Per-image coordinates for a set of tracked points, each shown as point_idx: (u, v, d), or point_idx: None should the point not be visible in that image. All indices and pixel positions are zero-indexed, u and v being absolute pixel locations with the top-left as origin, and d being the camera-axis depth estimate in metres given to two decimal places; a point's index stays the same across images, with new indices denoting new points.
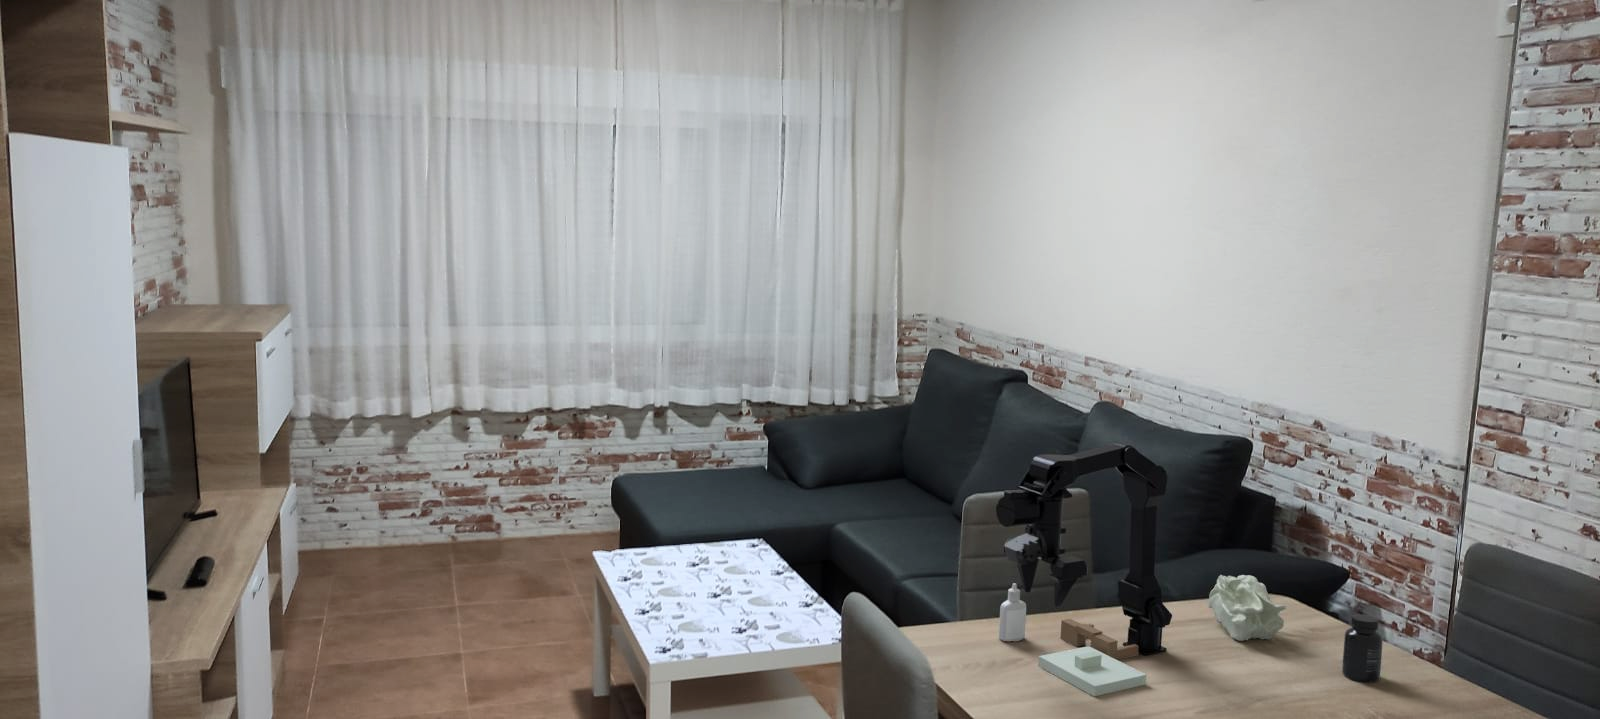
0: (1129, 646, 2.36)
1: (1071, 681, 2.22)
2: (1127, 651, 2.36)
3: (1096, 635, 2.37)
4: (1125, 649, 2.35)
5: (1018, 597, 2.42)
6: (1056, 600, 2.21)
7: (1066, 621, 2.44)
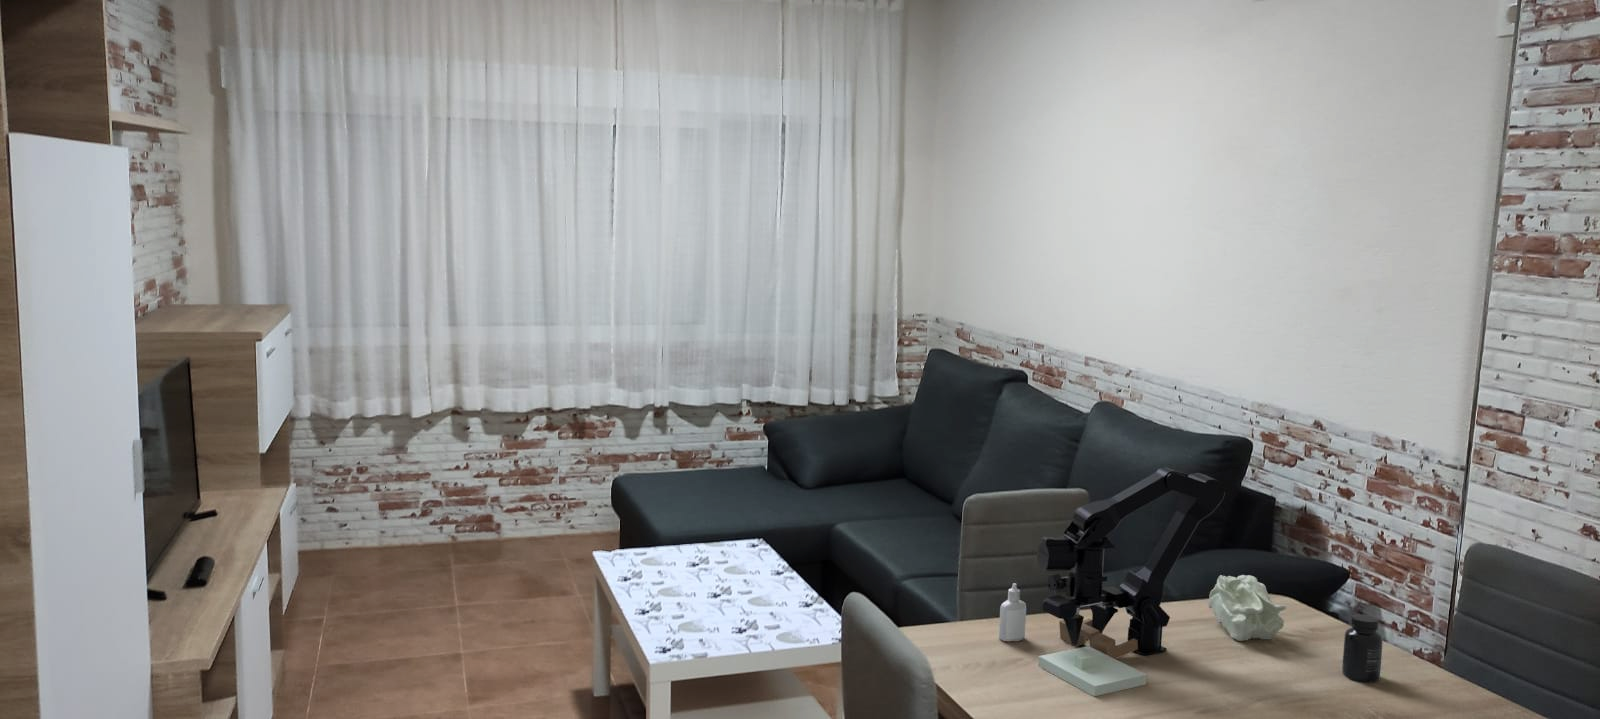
0: (1128, 642, 2.36)
1: (1071, 681, 2.22)
2: (1127, 648, 2.36)
3: (1094, 635, 2.36)
4: (1124, 646, 2.35)
5: (1018, 597, 2.42)
6: None
7: (1064, 622, 2.44)
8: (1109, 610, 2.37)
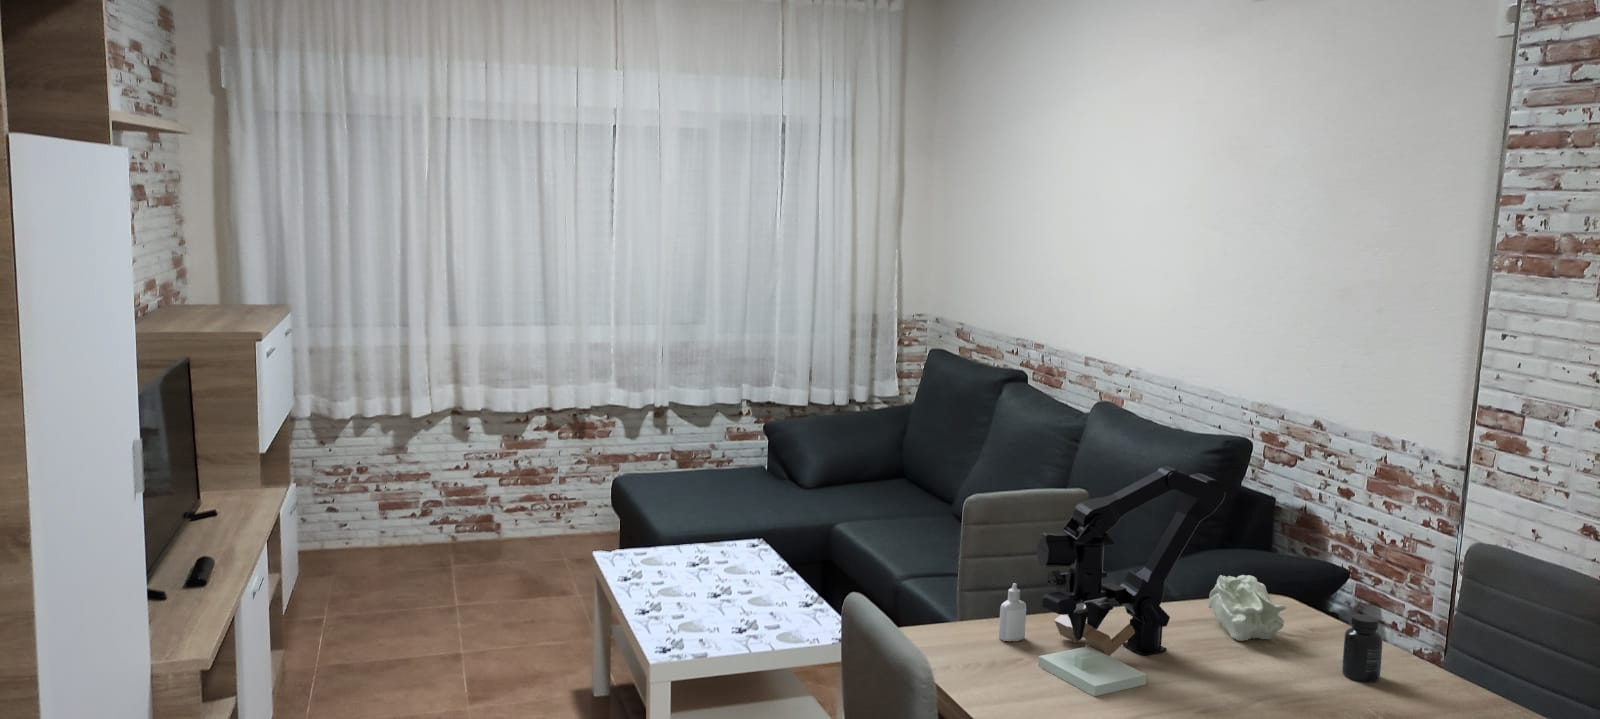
0: (1123, 630, 2.35)
1: (1071, 681, 2.22)
2: (1123, 637, 2.35)
3: (1088, 634, 2.36)
4: (1120, 637, 2.34)
5: (1018, 597, 2.42)
6: None
7: (1059, 620, 2.43)
8: (1104, 607, 2.36)
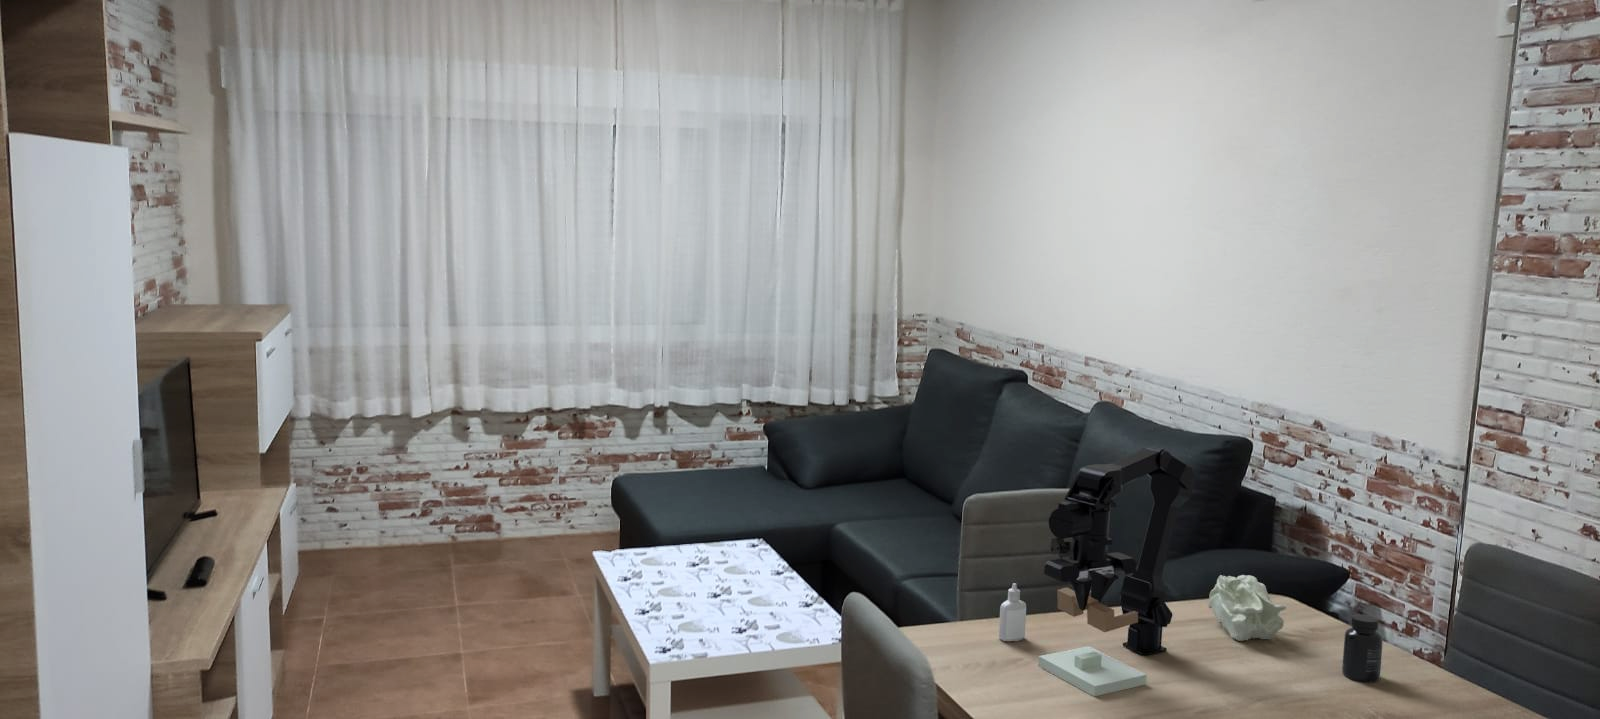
0: (1128, 614, 2.25)
1: (1071, 681, 2.22)
2: (1126, 620, 2.24)
3: (1092, 605, 2.25)
4: (1123, 617, 2.24)
5: (1018, 597, 2.42)
6: None
7: (1062, 591, 2.33)
8: (1109, 576, 2.26)
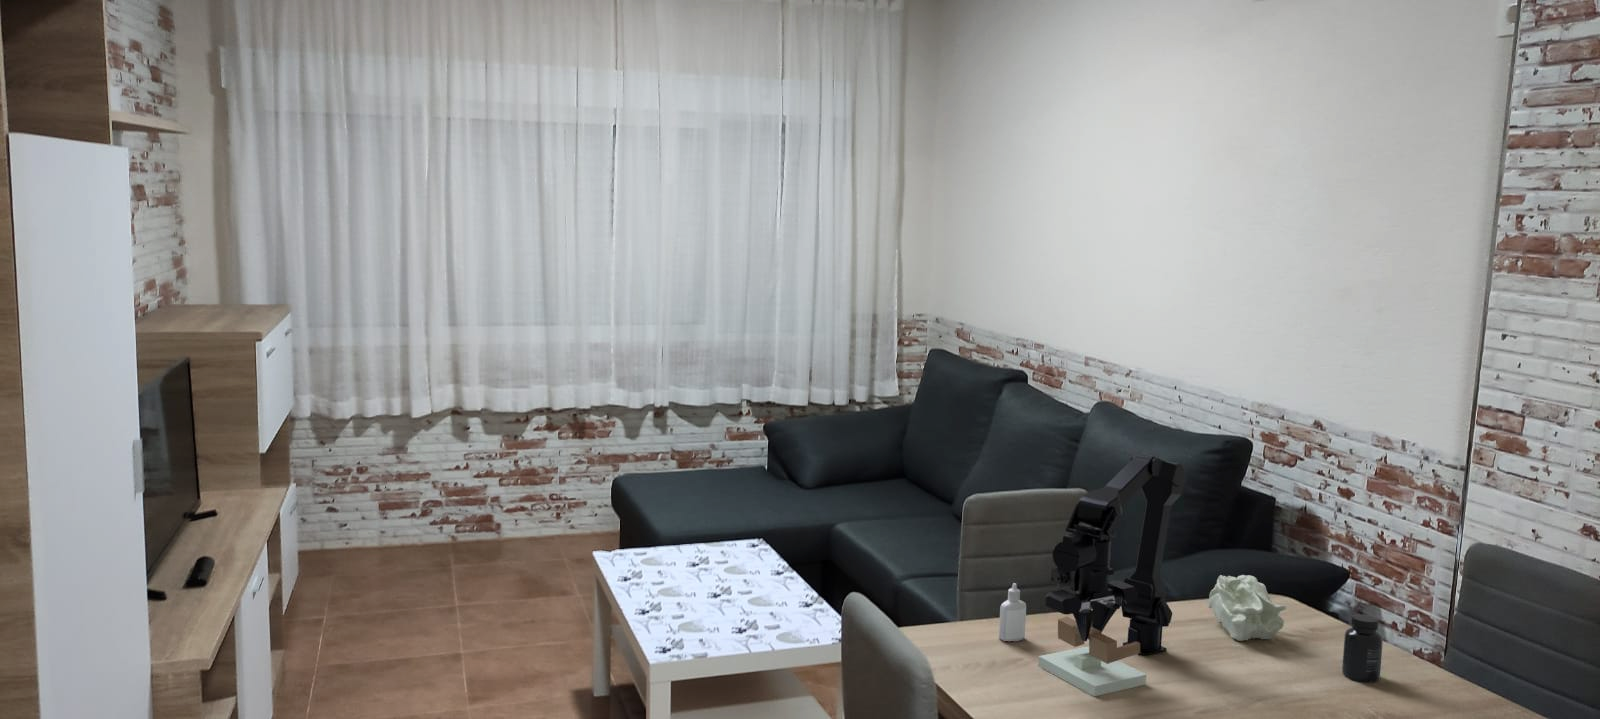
0: (1130, 644, 2.22)
1: (1071, 681, 2.22)
2: (1128, 651, 2.22)
3: (1094, 635, 2.23)
4: (1126, 648, 2.21)
5: (1018, 597, 2.42)
6: None
7: (1063, 620, 2.30)
8: (1110, 606, 2.23)
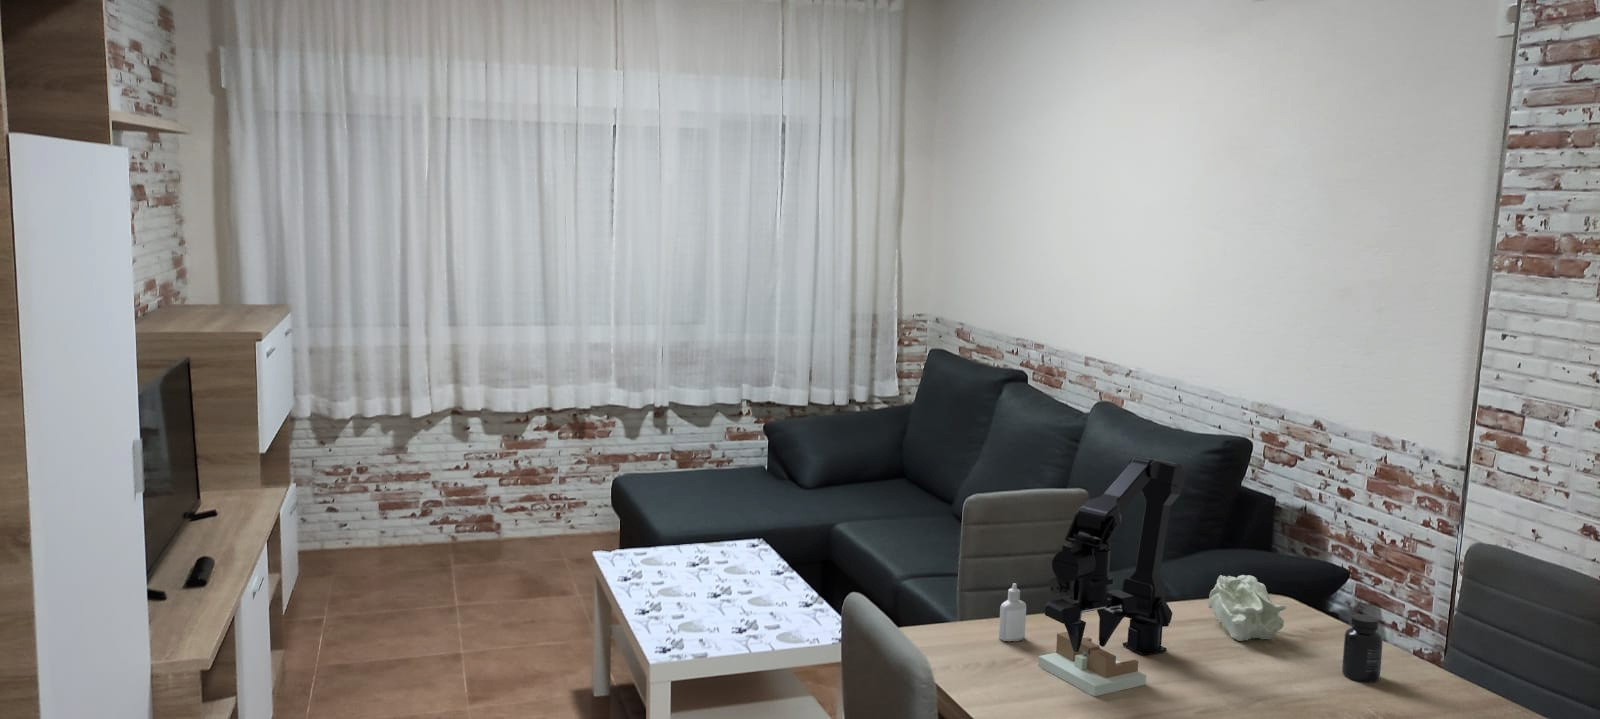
0: (1128, 662, 2.23)
1: (1071, 681, 2.22)
2: (1126, 667, 2.22)
3: (1093, 650, 2.23)
4: (1124, 665, 2.22)
5: (1018, 597, 2.42)
6: None
7: (1062, 635, 2.31)
8: (1117, 614, 2.24)
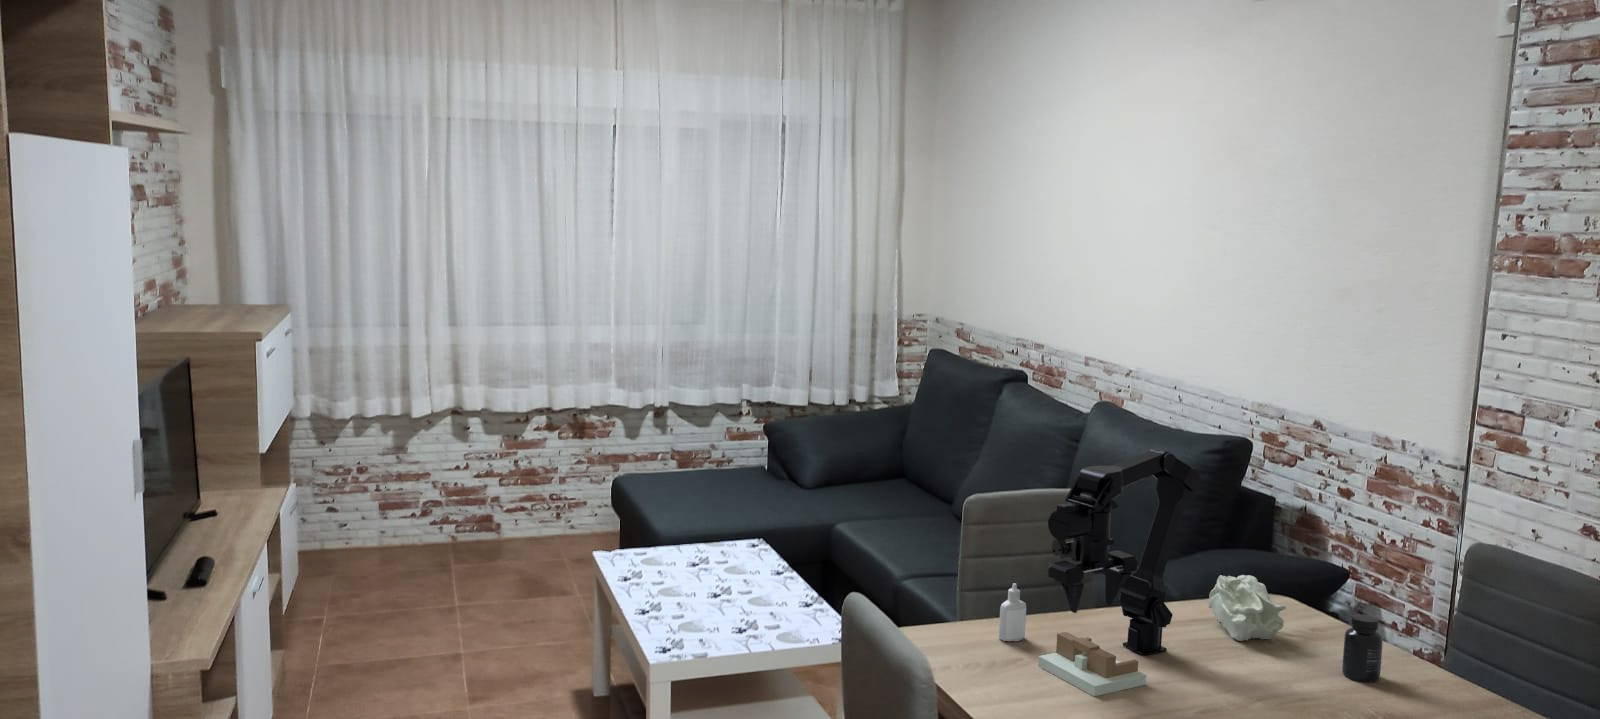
0: (1128, 662, 2.23)
1: (1071, 681, 2.22)
2: (1126, 667, 2.22)
3: (1093, 650, 2.23)
4: (1124, 665, 2.22)
5: (1018, 597, 2.42)
6: None
7: (1062, 635, 2.31)
8: (1123, 573, 2.30)
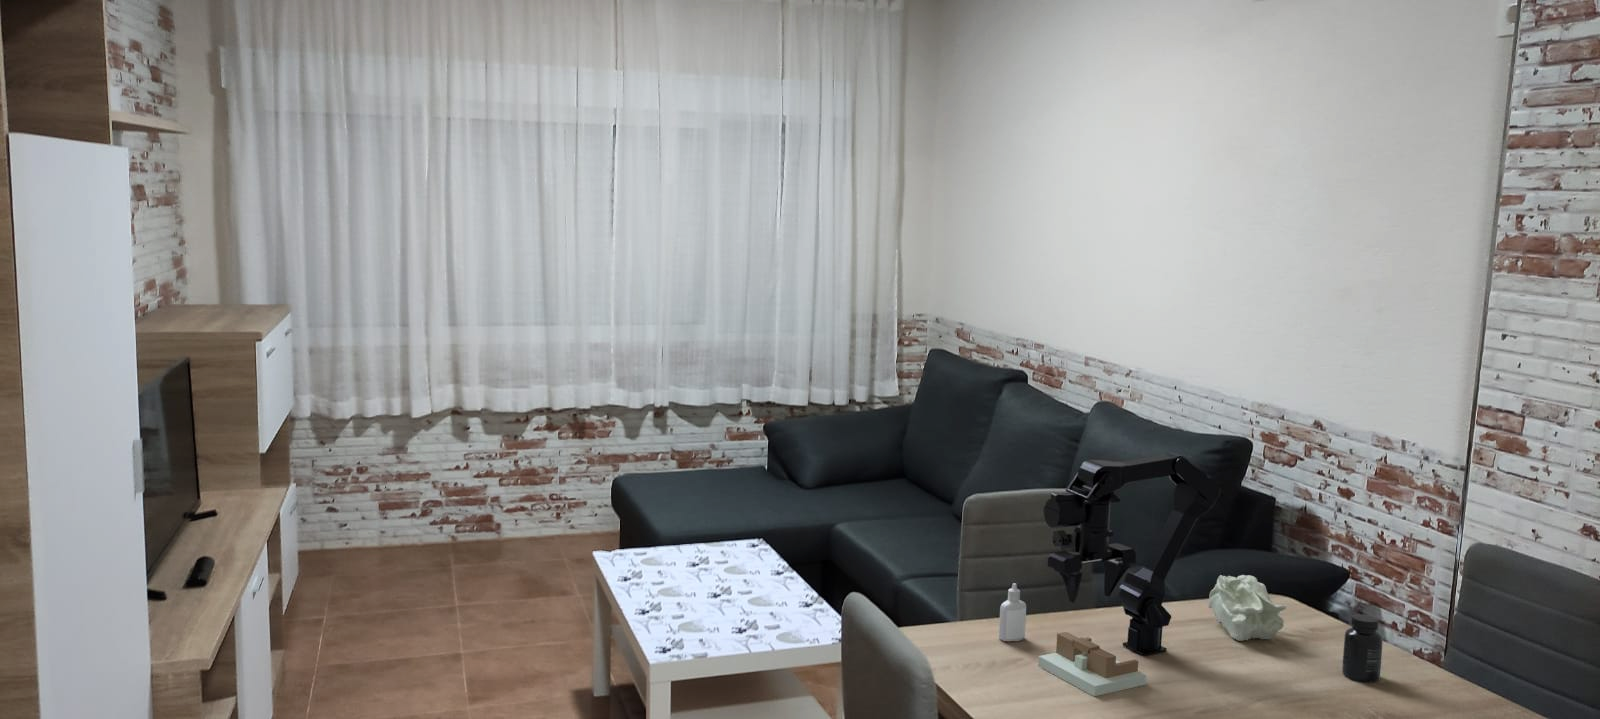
0: (1128, 662, 2.23)
1: (1071, 681, 2.22)
2: (1126, 667, 2.22)
3: (1093, 650, 2.23)
4: (1124, 665, 2.22)
5: (1018, 597, 2.42)
6: None
7: (1062, 635, 2.31)
8: (1121, 565, 2.34)
